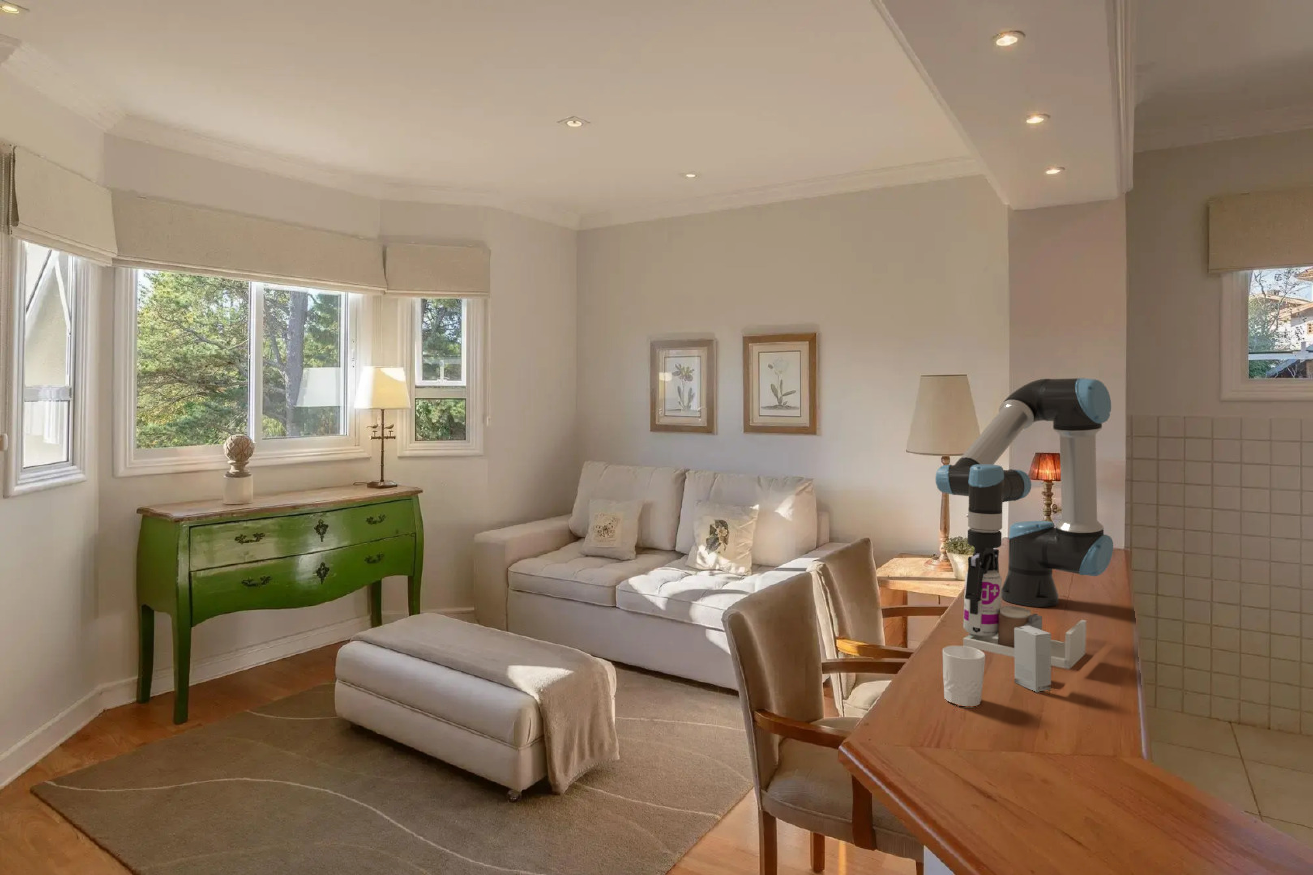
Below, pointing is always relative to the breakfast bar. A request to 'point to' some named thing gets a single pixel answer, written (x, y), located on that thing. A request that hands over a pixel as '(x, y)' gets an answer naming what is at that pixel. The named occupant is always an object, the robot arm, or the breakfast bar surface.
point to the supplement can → (986, 605)
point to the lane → (1060, 651)
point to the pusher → (1035, 621)
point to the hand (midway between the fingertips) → (981, 622)
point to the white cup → (963, 675)
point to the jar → (1011, 623)
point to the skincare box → (1032, 658)
